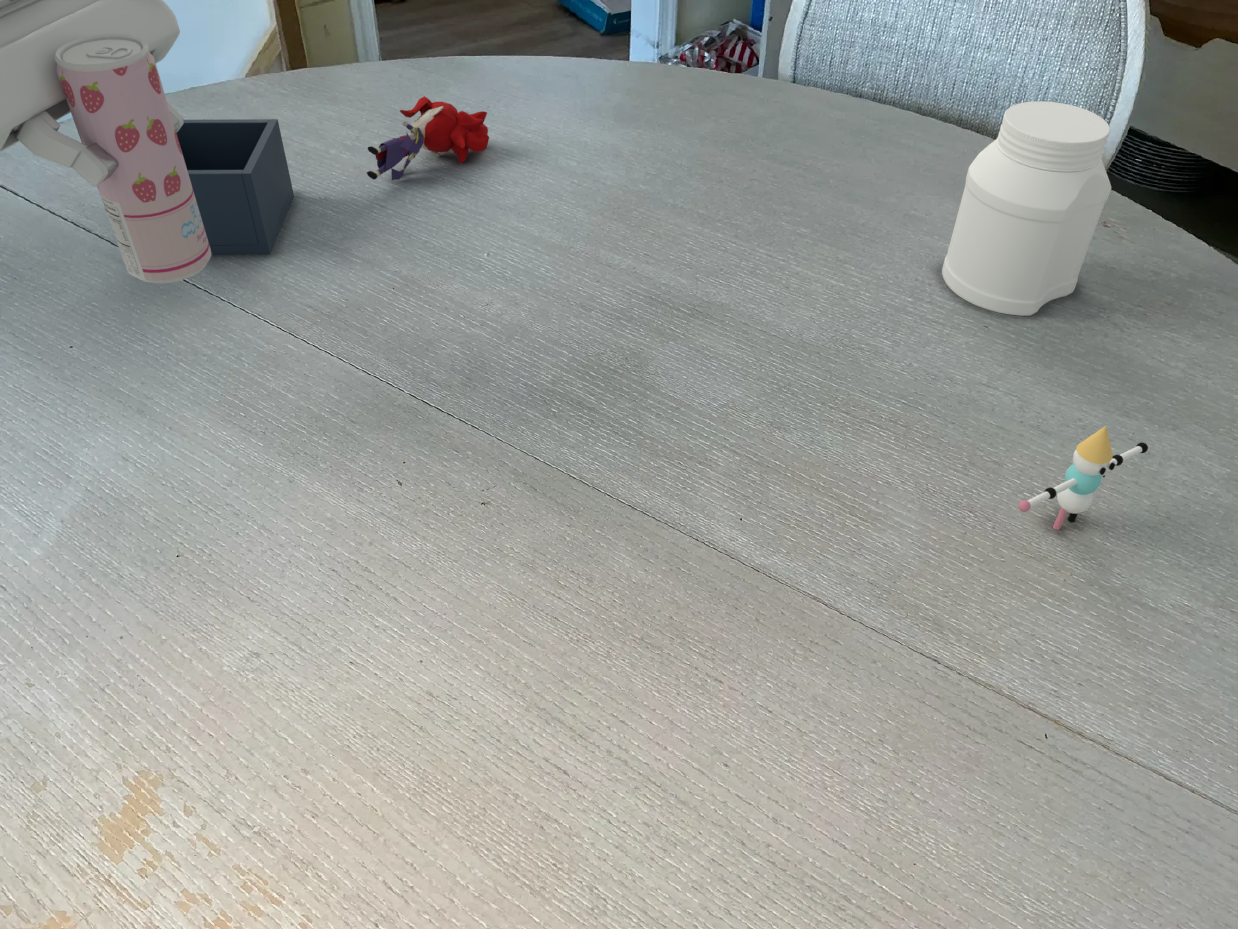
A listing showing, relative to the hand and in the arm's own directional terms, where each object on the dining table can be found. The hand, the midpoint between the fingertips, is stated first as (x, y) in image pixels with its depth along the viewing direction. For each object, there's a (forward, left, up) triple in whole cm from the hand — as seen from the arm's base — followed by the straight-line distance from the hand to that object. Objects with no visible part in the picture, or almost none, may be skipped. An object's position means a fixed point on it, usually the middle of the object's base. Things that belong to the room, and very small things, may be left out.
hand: (142, 153), depth 66 cm
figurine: (+13, +38, -19) cm, 44 cm away
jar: (+67, +14, -19) cm, 71 cm away
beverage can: (-1, 0, -9) cm, 9 cm away
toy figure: (+61, -17, -19) cm, 66 cm away
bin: (-6, +26, -19) cm, 32 cm away
